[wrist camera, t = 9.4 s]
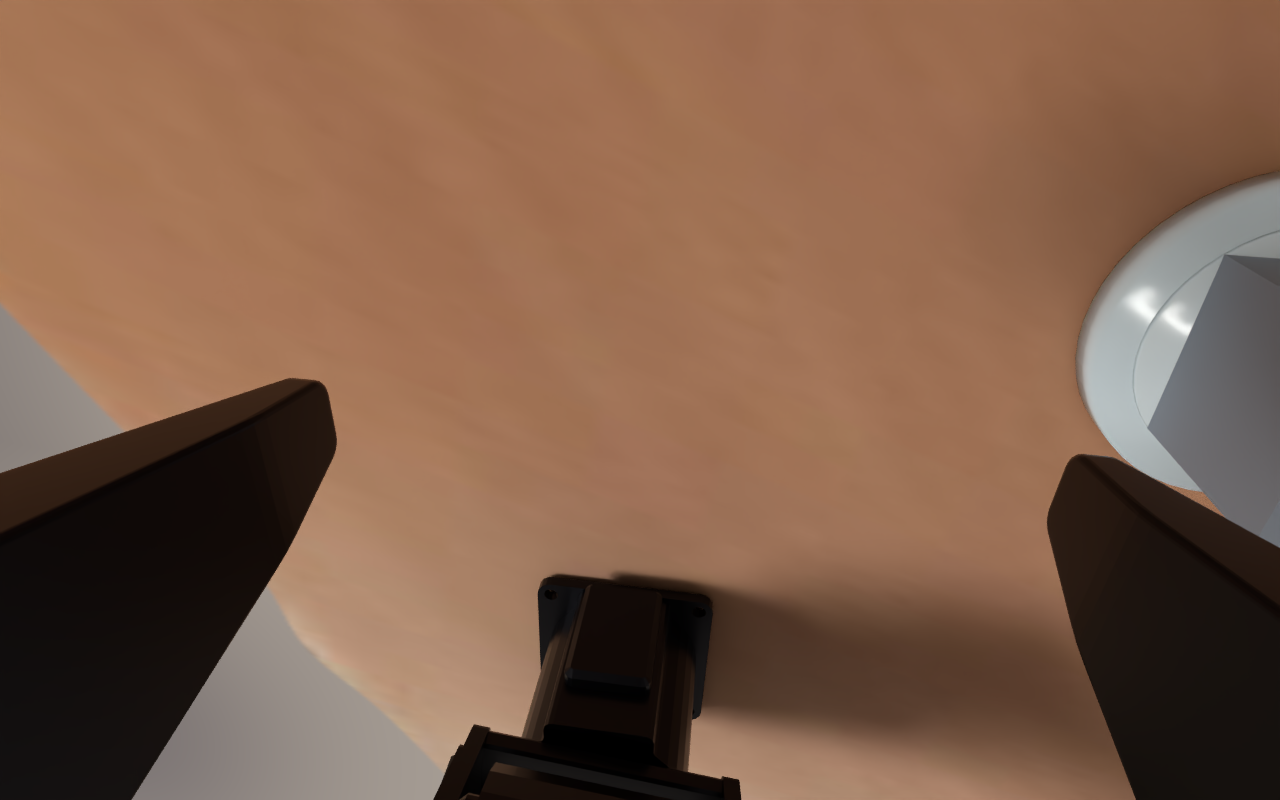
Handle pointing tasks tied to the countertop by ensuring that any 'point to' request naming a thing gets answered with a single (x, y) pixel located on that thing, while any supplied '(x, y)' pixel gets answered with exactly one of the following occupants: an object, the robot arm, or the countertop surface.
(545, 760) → the robot arm
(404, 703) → the countertop surface
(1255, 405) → the block
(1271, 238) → the dish
